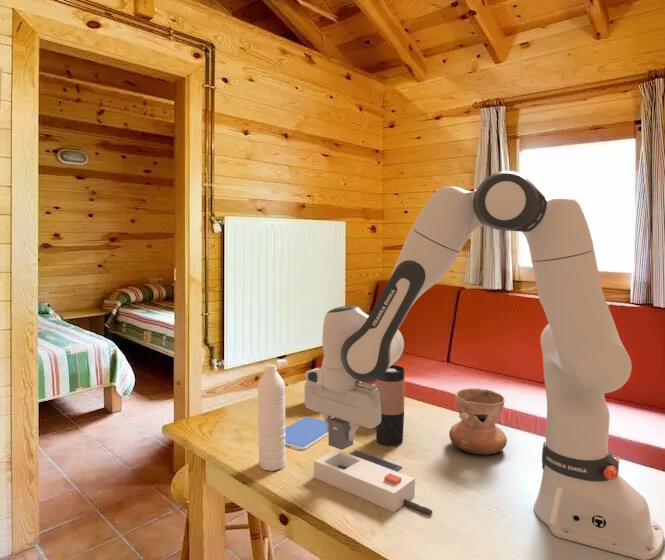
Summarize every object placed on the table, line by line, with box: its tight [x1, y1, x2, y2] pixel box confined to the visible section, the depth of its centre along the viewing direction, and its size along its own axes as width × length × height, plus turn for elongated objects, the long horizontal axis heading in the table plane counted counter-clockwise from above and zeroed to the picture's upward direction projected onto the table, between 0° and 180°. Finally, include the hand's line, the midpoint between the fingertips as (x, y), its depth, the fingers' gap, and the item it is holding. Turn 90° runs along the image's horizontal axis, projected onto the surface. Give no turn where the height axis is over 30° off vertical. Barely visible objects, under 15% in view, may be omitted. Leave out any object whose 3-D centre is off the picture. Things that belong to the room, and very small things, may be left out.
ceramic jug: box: [448, 387, 508, 455], centre depth 133 cm, size 18×14×14 cm
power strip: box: [313, 448, 433, 516], centre depth 111 cm, size 28×8×5 cm, turn 50°
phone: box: [348, 449, 403, 472], centre depth 124 cm, size 14×7×1 cm, turn 49°
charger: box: [328, 417, 354, 451], centre depth 116 cm, size 4×4×6 cm
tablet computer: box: [285, 416, 329, 451], centre depth 143 cm, size 19×13×1 cm, turn 149°
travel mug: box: [375, 364, 405, 447], centre depth 136 cm, size 8×8×20 cm
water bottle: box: [257, 359, 288, 472], centre depth 123 cm, size 9×6×25 cm
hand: (341, 436), depth 116 cm, fingers closed on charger, 4 cm apart
